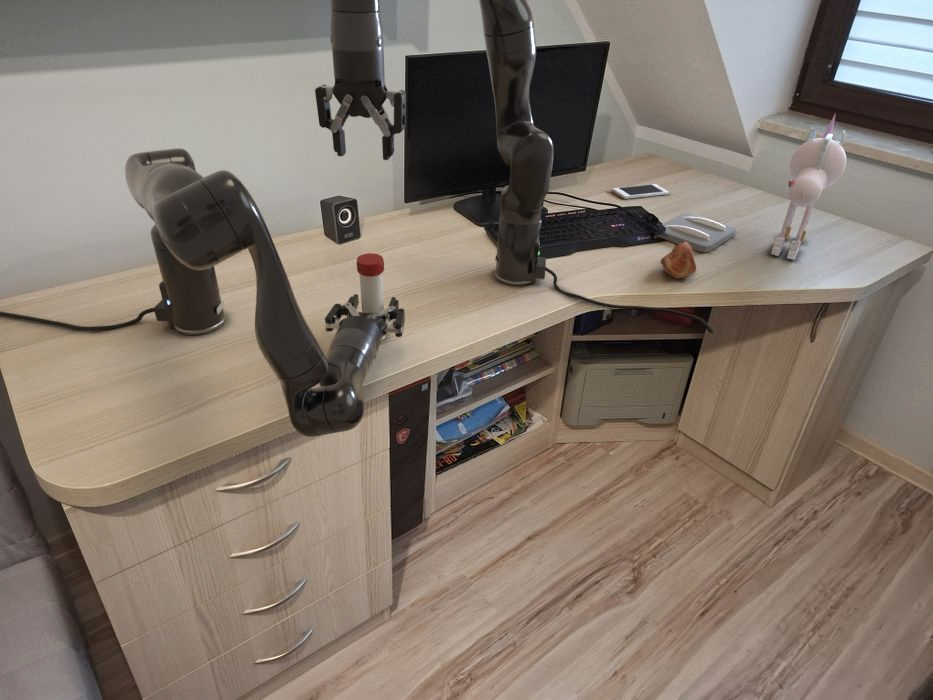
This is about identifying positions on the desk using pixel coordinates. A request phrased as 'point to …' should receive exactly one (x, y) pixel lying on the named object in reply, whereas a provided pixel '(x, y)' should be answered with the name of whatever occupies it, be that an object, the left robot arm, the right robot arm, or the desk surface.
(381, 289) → the jar
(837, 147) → the toy
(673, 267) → the fossil
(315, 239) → the desk surface
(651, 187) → the smartphone
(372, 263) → the lid
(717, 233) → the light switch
